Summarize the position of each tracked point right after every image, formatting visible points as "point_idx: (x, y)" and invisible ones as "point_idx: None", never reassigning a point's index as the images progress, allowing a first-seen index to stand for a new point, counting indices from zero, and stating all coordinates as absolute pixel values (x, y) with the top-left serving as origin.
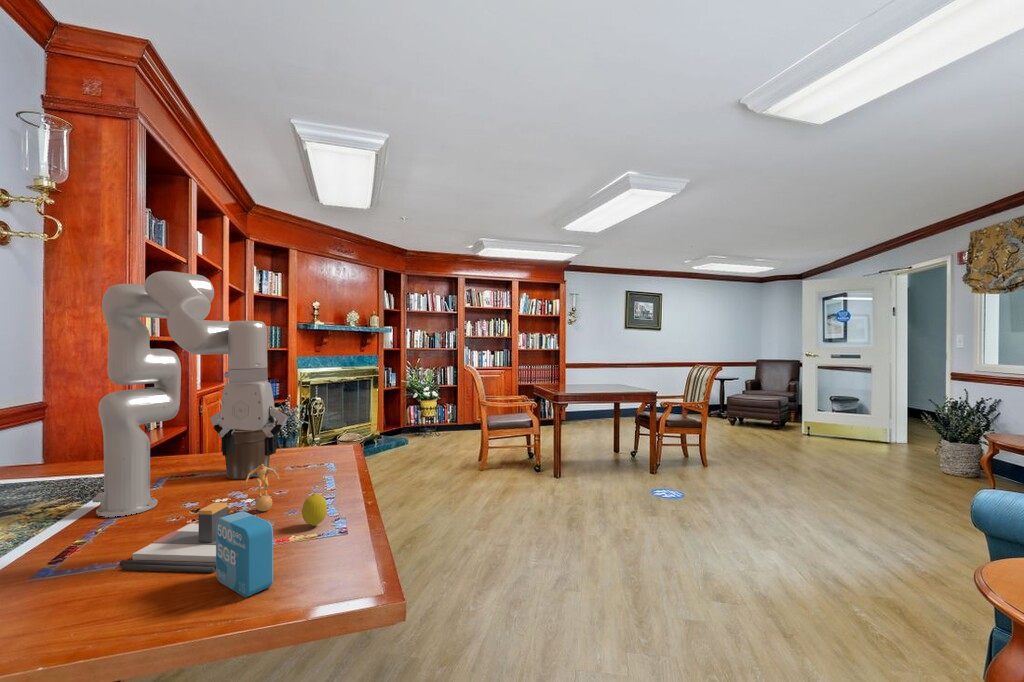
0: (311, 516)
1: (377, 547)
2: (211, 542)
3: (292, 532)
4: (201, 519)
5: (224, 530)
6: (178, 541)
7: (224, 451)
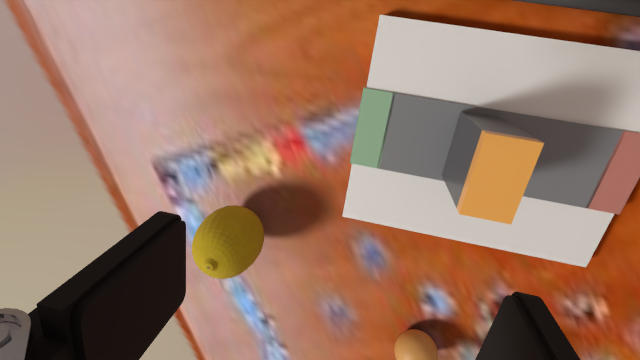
0: (227, 208)
1: (55, 77)
2: None
3: (286, 191)
4: (518, 132)
5: None
6: (571, 132)
7: (532, 312)
